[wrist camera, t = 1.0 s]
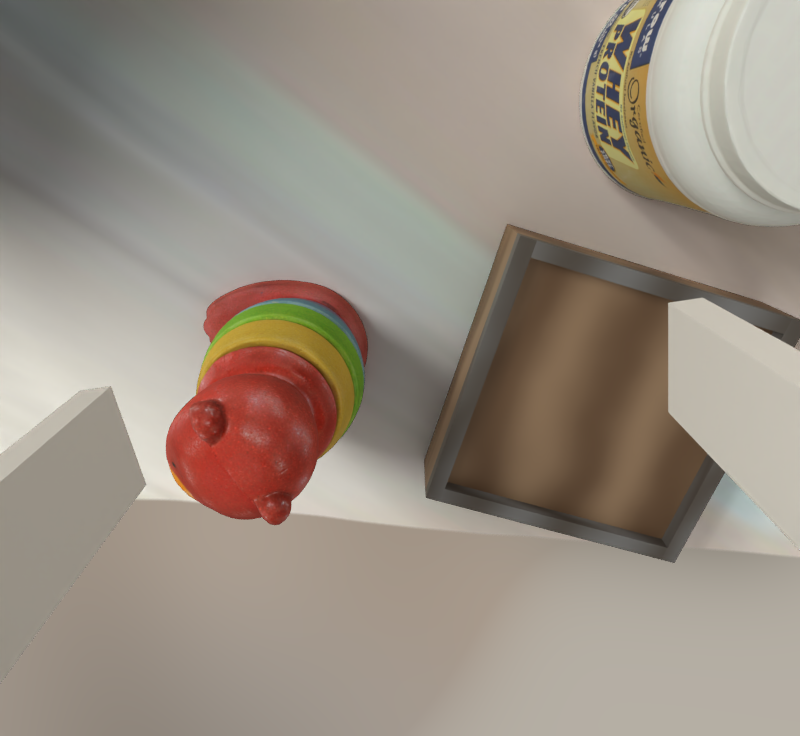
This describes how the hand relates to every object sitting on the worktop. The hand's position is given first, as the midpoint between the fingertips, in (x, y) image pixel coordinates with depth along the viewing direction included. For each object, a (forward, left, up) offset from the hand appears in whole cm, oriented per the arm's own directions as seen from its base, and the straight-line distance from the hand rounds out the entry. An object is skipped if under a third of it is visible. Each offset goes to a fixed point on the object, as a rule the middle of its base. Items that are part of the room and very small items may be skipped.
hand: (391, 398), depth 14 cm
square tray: (+15, -7, -27) cm, 31 cm away
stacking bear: (-5, -10, -27) cm, 29 cm away
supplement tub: (+13, +12, -27) cm, 32 cm away
